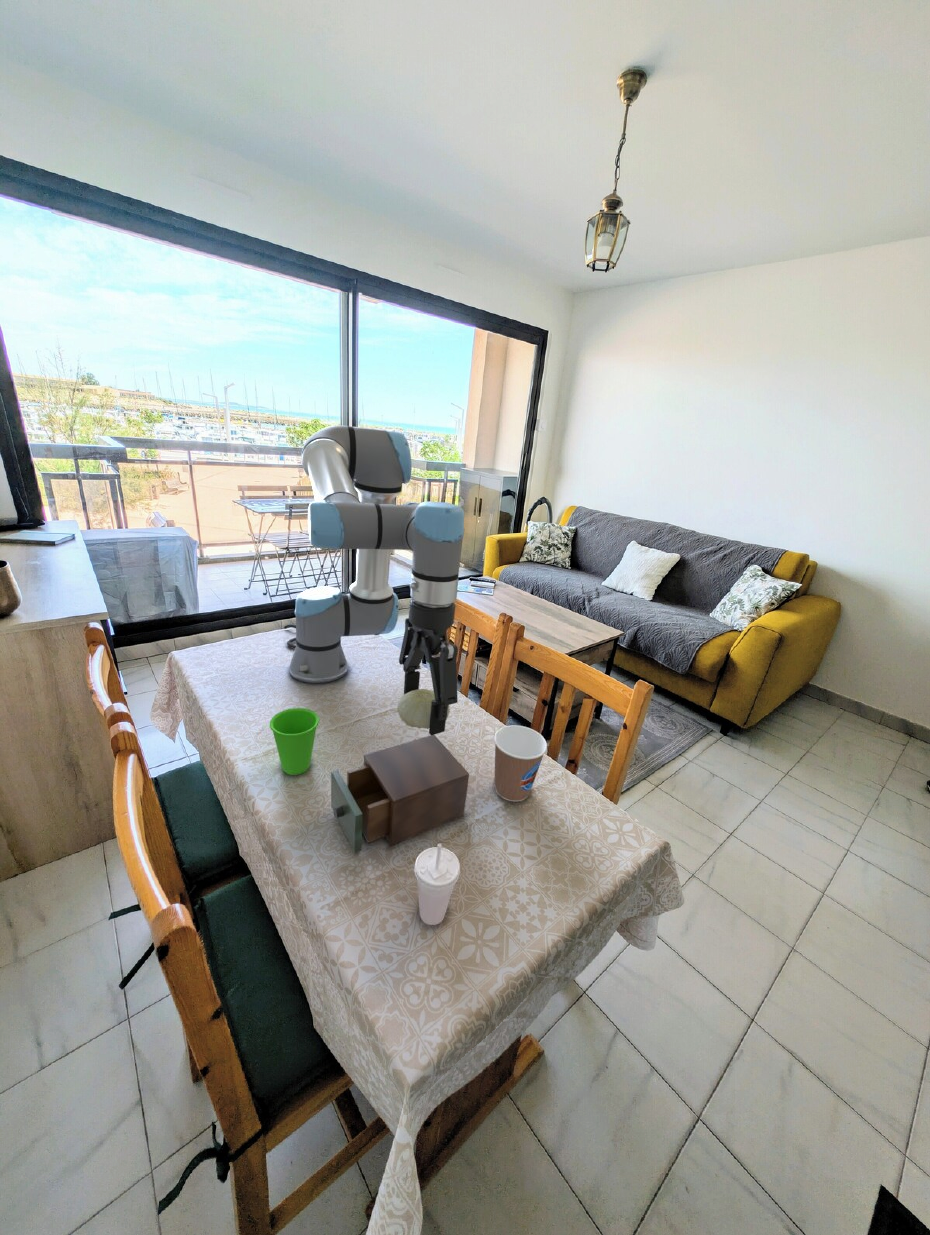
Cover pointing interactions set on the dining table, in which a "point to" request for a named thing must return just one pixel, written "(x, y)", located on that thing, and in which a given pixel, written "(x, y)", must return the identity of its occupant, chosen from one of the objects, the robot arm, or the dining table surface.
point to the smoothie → (435, 882)
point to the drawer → (360, 806)
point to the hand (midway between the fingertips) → (422, 717)
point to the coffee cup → (517, 761)
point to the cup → (295, 738)
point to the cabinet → (419, 786)
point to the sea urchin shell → (417, 708)
